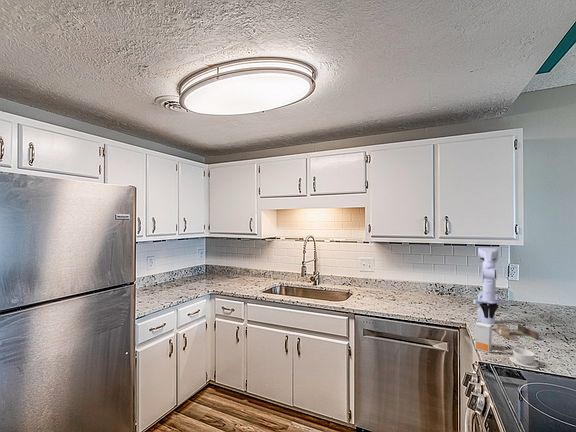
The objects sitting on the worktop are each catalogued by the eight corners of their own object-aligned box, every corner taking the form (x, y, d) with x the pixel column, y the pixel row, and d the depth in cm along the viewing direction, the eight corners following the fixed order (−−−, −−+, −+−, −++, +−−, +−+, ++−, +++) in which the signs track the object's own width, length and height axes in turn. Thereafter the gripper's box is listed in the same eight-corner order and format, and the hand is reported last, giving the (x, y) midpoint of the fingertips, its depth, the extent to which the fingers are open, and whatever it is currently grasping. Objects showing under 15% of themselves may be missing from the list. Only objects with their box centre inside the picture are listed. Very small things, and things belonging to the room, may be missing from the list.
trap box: (489, 331, 167) (489, 322, 167) (518, 332, 166) (518, 323, 166) (506, 341, 153) (506, 332, 153) (537, 342, 152) (538, 333, 152)
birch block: (496, 331, 162) (496, 324, 162) (504, 332, 162) (504, 324, 162) (500, 334, 158) (501, 327, 158) (509, 335, 158) (509, 327, 158)
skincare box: (474, 349, 144) (474, 323, 144) (476, 346, 147) (477, 321, 147) (489, 353, 140) (489, 327, 140) (491, 350, 143) (492, 324, 143)
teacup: (534, 371, 124) (534, 359, 124) (505, 361, 132) (505, 350, 132) (542, 364, 130) (542, 353, 130) (514, 355, 138) (514, 345, 138)
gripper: (478, 293, 157) (478, 319, 157) (508, 293, 156) (508, 320, 156) (471, 289, 164) (471, 315, 164) (499, 290, 163) (499, 316, 163)
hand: (488, 317), depth 161 cm, fingers closed
